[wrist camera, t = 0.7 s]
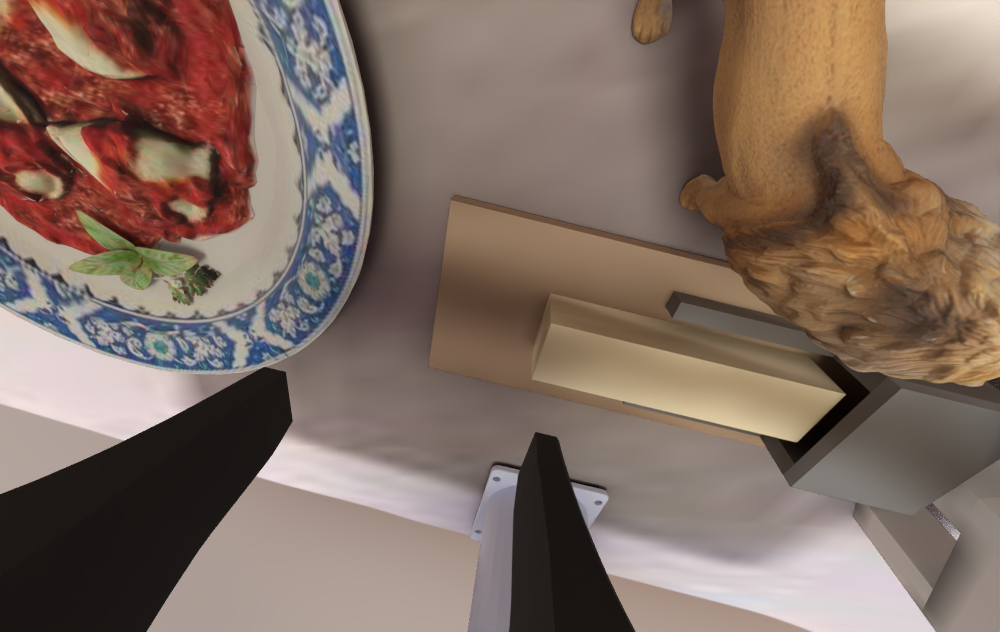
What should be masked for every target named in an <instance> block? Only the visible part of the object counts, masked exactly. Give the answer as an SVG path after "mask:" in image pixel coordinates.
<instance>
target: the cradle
mask: <svg viewBox="0 0 1000 632" xmlns="http://www.w3.org/2000/svg"><path fill="white" fill-rule="evenodd" d="M551 293H552V294H556V295H560V296H564V297H568V298H573V299H577V300H581V301H585V302H589V303H593V304H597V305H601V306H606V307H610V308H614V309H618V310H622V311H626V312H630V313H634V314H639V315H643V316H647V317H651V318H655V319H659V320H663V321H667V322H672V323H676V324H680V325H684V326H688V327H692V328H696V329H700V330H705V331H709V332H713V333H717V334H721V335H725V336H729V337H733V338H737V339H742V340H746V341H750V342H754V343H758V344H762V345H766V346H770V347H775V348H779V349H783V350H787V351H791V352H795V353H799V354H803V355H808V357H809V358H810V359H811V360H812V361H813V362H814V363H815V364H816V365H817V366H818V367H819V368H820V369H821V370H822V371H823V372H824V373H825V374H826V375H827V376H828V377H829V378H830V379H831V380H832V381H833V382H834V383H835V384H836V385H837V386H838V387H839V388H840V389H841V390H842V391H843V392H844V393H845V394H846V395H845V396H844V397H843V398H842V399H841V400H840V401H839V402H838V403H837V404H836V405H835V406H834V407H833V408H832V409H831V410H830V411H829V412H828V413H827V414H826V415H825V416H824V417H823V418H822V419H820V420H819V421H818V422H817V423H816V424H815V425H814V426H813V427H812V428H811V429H810V430H809V431H808V432H807V433H806V434H805V435H804V436H803V437H802V438H801V439H800V440H799V441H798V442H793V441H788V440H784V439H780V438H776V437H772V436H767V435H763V434H759V433H755V432H751V431H746V430H742V429H738V428H734V427H730V426H725V425H721V424H717V423H713V422H709V421H704V420H700V419H696V418H692V417H688V416H683V415H679V414H675V413H671V412H667V411H662V410H658V409H654V408H650V407H646V406H641V405H637V404H633V403H629V402H625V401H620V400H616V399H612V398H608V397H604V396H599V395H595V394H591V393H587V392H583V391H578V390H574V389H570V388H566V387H562V386H558V385H553V384H549V383H545V382H541V381H537V380H532V363H533V345H534V342H535V339H536V336H537V333H538V330H539V327H540V324H541V321H542V318H543V315H544V312H545V309H546V306H547V303H548V300H549V297H550V294H551ZM428 367H430V368H434V369H438V370H442V371H447V372H451V373H455V374H459V375H464V376H468V377H472V378H476V379H480V380H485V381H489V382H493V383H497V384H501V385H506V386H510V387H514V388H518V389H522V390H527V391H531V392H535V393H539V394H543V395H548V396H552V397H556V398H560V399H564V400H569V401H573V402H577V403H581V404H586V405H590V406H594V407H598V408H602V409H607V410H611V411H615V412H619V413H623V414H628V415H632V416H636V417H640V418H644V419H649V420H653V421H657V422H661V423H665V424H670V425H674V426H678V427H682V428H686V429H691V430H695V431H699V432H703V433H708V434H712V435H716V436H720V437H724V438H729V439H733V440H737V441H741V442H745V443H750V444H754V445H758V446H762V447H766V448H767V449H768V451H769V453H770V454H771V456H772V458H773V459H774V461H775V462H776V464H777V466H778V467H779V469H780V471H781V472H782V474H783V475H784V477H785V479H786V480H787V482H788V483H789V485H790V487H792V488H796V489H801V490H805V491H809V492H813V493H818V494H822V495H826V496H830V497H834V498H839V499H843V500H847V501H851V502H856V503H860V504H864V505H868V506H873V507H877V508H881V509H885V510H890V511H894V512H898V513H902V514H906V515H911V516H912V515H914V514H915V513H917V512H919V511H920V510H922V509H923V508H925V507H926V506H928V505H929V504H931V503H932V502H934V501H936V500H937V499H939V498H940V497H942V496H943V495H945V494H946V493H948V492H950V491H951V490H953V489H954V488H956V487H957V486H959V485H960V484H962V483H964V482H965V481H967V480H968V479H970V478H971V477H973V476H974V475H976V474H978V473H979V472H981V471H982V470H984V469H985V468H987V467H988V466H990V465H992V464H993V463H995V462H996V461H998V460H999V459H1000V390H999V389H997V388H996V387H994V386H993V385H991V384H990V383H988V382H987V381H985V382H984V384H983V385H981V386H976V387H971V386H965V385H959V384H956V383H954V382H947V383H931V382H928V381H924V380H919V379H899V378H894V377H891V376H887V375H884V374H882V373H880V372H858V371H855V370H853V369H851V368H849V367H848V366H846V365H845V364H844V363H843V362H842V361H841V360H840V359H839V357H838V356H837V355H835V354H834V353H832V352H830V351H828V350H826V349H824V348H821V347H820V346H818V345H816V344H815V343H813V342H812V341H811V340H809V338H808V337H807V335H806V333H805V332H804V330H803V329H802V328H801V327H799V326H797V325H795V324H793V323H792V322H790V321H788V320H786V319H784V318H782V317H780V316H778V315H777V314H775V313H774V312H773V310H772V309H771V308H770V307H769V306H768V305H767V304H765V303H764V302H762V301H761V300H760V299H758V297H757V296H756V295H754V294H753V293H752V292H751V291H749V290H748V289H747V287H746V286H745V285H744V283H743V279H742V277H741V276H740V275H739V274H738V273H736V272H734V271H733V270H731V269H730V267H729V265H728V262H725V261H721V260H716V259H712V258H708V257H704V256H700V255H696V254H692V253H688V252H684V251H680V250H676V249H672V248H668V247H664V246H660V245H656V244H651V243H647V242H643V241H639V240H635V239H631V238H627V237H623V236H619V235H615V234H611V233H607V232H603V231H599V230H595V229H591V228H586V227H582V226H578V225H574V224H570V223H566V222H562V221H558V220H554V219H550V218H546V217H542V216H538V215H534V214H530V213H526V212H521V211H517V210H513V209H509V208H505V207H501V206H497V205H493V204H489V203H485V202H481V201H477V200H473V199H469V198H465V197H461V196H456V195H455V196H454V197H453V198H452V199H451V202H450V209H449V217H448V224H447V232H446V239H445V246H444V254H443V261H442V269H441V276H440V283H439V291H438V298H437V306H436V313H435V320H434V328H433V335H432V342H431V350H430V357H429V365H428Z"/></svg>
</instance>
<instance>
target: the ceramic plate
mask: <svg viewBox="0 0 1000 632" xmlns="http://www.w3.org/2000/svg"><path fill="white" fill-rule="evenodd" d="M373 196H374V165H373V153H372V140H371V129H370V123H369V117H368V111H367V105H366V99H365V93H364V87H363V83H362V79H361V75H360V71H359V67H358V63H357V59H356V55H355V50H354V46H353V42H352V39H351V36H350V33H349V29H348V26H347V23H346V20H345V17H344V14H343V11H342V8H341V5H340V1H339V0H0V307H2V308H4V309H5V310H7V311H9V312H10V313H12V314H14V315H16V316H17V317H19V318H21V319H23V320H25V321H27V322H29V323H31V324H33V325H36V326H38V327H40V328H42V329H44V330H46V331H48V332H50V333H52V334H54V335H56V336H58V337H60V338H63V339H65V340H68V341H70V342H73V343H75V344H78V345H80V346H83V347H85V348H88V349H90V350H93V351H95V352H98V353H100V354H103V355H107V356H110V357H113V358H117V359H120V360H124V361H127V362H130V363H134V364H138V365H142V366H146V367H150V368H154V369H158V370H162V371H171V372H179V373H191V374H229V373H241V372H246V371H250V370H255V369H259V368H262V367H265V366H268V365H272V364H275V363H277V362H279V361H281V360H283V359H285V358H288V357H290V356H292V355H294V354H295V353H297V352H299V351H300V350H302V349H303V348H305V347H306V346H308V345H309V344H310V343H311V342H312V341H314V340H315V339H316V338H317V337H319V336H320V335H321V334H322V333H323V332H324V330H325V329H326V328H327V327H328V326H329V325H330V324H331V323H332V322H333V321H334V319H335V318H336V316H337V315H338V313H339V312H340V310H341V309H342V307H343V306H344V304H345V303H346V301H347V299H348V297H349V295H350V293H351V291H352V289H353V287H354V285H355V283H356V281H357V278H358V276H359V274H360V272H361V268H362V264H363V260H364V256H365V252H366V247H367V243H368V239H369V235H370V229H371V220H372V211H373Z"/></svg>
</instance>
